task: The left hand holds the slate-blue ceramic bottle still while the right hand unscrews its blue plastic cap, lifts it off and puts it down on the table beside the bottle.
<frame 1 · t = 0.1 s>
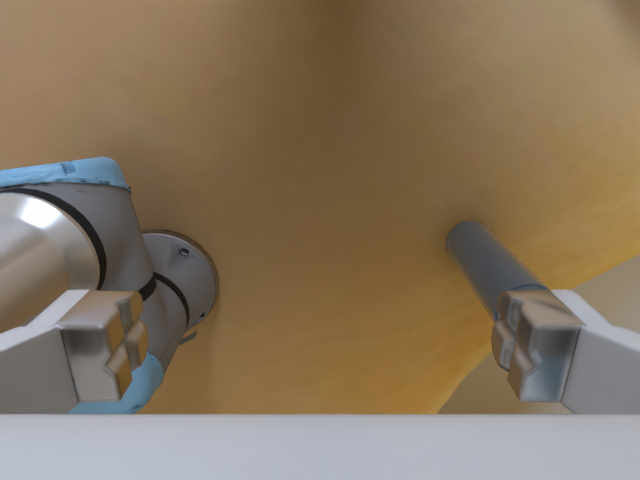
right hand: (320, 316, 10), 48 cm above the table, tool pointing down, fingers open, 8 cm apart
bottle: (468, 242, 61), on the table
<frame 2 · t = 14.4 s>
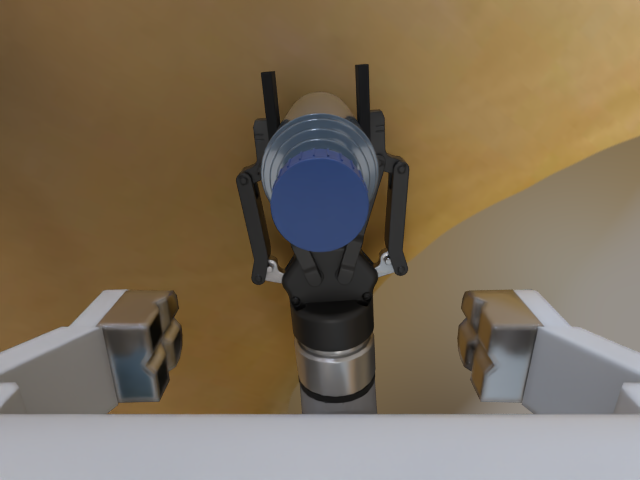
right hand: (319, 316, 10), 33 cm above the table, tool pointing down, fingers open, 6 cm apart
left hand: (314, 68, 33), fingers closed on bottle, 6 cm apart
cap: (319, 205, 18), point 24 cm above the table, screwed on, not yet turned
bottle: (319, 127, 40), on the table, touching left hand
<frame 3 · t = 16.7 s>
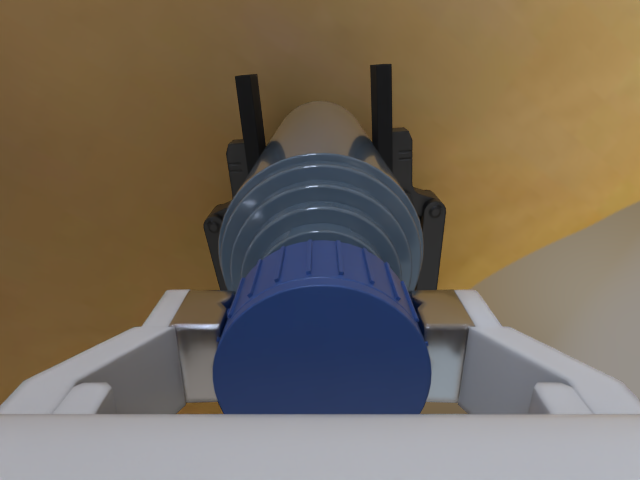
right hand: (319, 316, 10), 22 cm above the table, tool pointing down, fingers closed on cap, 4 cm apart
cap: (321, 372, 8), point 24 cm above the table, screwed on, not yet turned, touching right hand
bottle: (320, 148, 31), on the table, touching left hand
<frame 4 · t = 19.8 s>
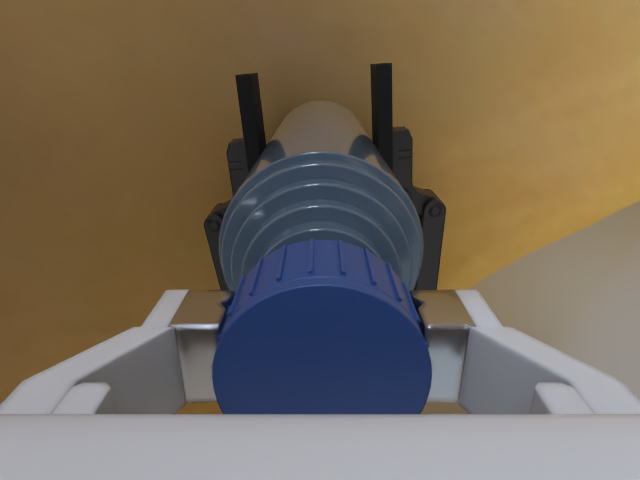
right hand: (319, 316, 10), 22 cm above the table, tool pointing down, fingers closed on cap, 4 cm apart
cap: (321, 372, 8), point 24 cm above the table, turned 81° so far, risen 0.1 cm, still on its thread, touching right hand
bottle: (320, 147, 31), on the table, touching left hand
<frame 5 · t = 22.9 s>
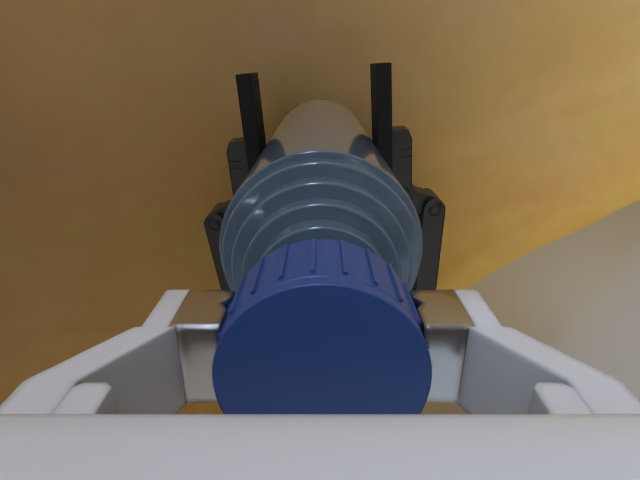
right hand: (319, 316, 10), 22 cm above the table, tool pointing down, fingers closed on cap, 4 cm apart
cap: (321, 371, 8), point 24 cm above the table, turned 162° so far, risen 0.2 cm, still on its thread, touching right hand
bottle: (320, 146, 31), on the table, touching left hand
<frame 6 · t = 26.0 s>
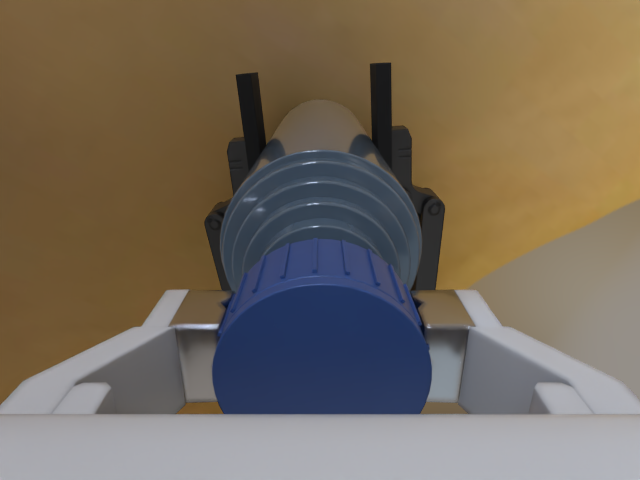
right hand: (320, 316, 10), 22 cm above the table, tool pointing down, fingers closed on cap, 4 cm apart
cap: (321, 371, 8), point 24 cm above the table, turned 242° so far, risen 0.3 cm, still on its thread, touching right hand
bottle: (320, 146, 31), on the table, touching left hand
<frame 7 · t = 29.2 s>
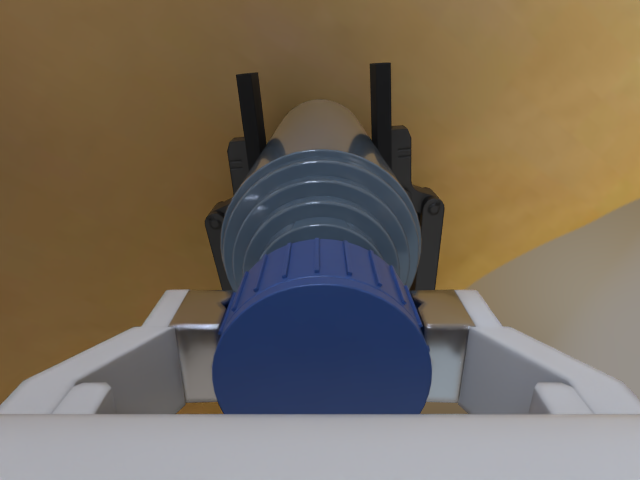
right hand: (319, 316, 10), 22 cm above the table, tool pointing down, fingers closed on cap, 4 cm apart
cap: (321, 371, 8), point 24 cm above the table, turned 323° so far, risen 0.4 cm, still on its thread, touching right hand
bottle: (320, 146, 31), on the table, touching left hand
when the right hand's fingers open (2 cm above the table, at t = 35.6 s): cap drops 2 cm, point 2 cm above the table.
when the left hand's fingers open (6 cm above the table, at t = 36.6 s): bottle stays where it is, on the table.
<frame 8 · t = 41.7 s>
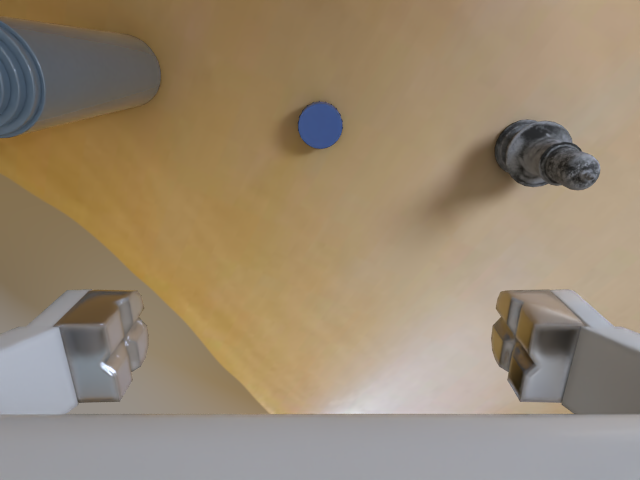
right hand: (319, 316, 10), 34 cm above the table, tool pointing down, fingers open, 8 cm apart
cap: (320, 126, 40), point 2 cm above the table, off its thread
grey tapered ringed piece: (521, 147, 43), on the table
bottle: (126, 71, 40), on the table
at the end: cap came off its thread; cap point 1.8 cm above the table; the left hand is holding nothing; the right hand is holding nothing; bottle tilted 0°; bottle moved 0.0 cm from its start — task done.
